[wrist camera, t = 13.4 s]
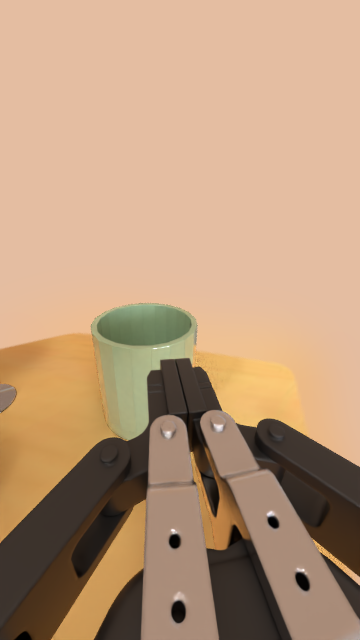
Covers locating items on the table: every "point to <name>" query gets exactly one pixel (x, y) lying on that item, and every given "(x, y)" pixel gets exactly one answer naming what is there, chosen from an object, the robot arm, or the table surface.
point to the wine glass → (6, 396)
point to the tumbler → (137, 358)
